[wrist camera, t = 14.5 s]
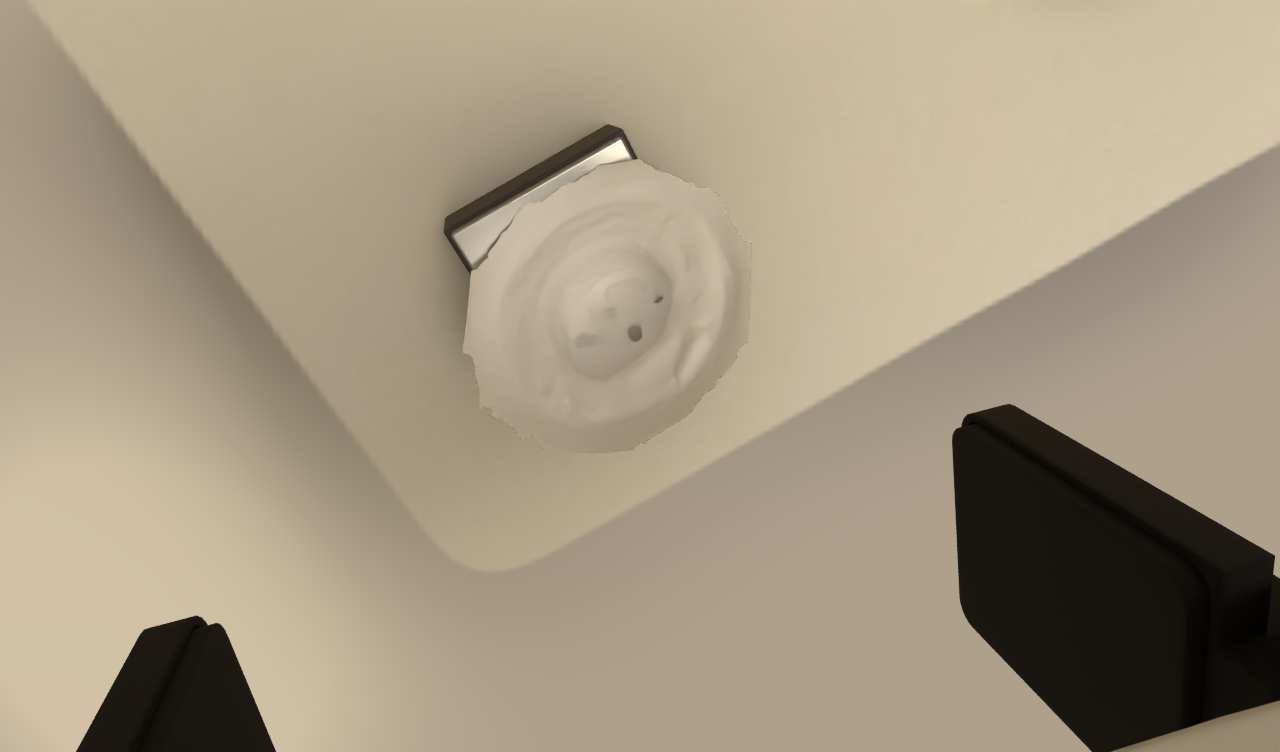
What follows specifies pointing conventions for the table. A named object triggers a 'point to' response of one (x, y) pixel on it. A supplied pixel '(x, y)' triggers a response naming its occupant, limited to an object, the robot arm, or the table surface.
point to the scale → (530, 180)
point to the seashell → (608, 309)
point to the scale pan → (529, 201)
